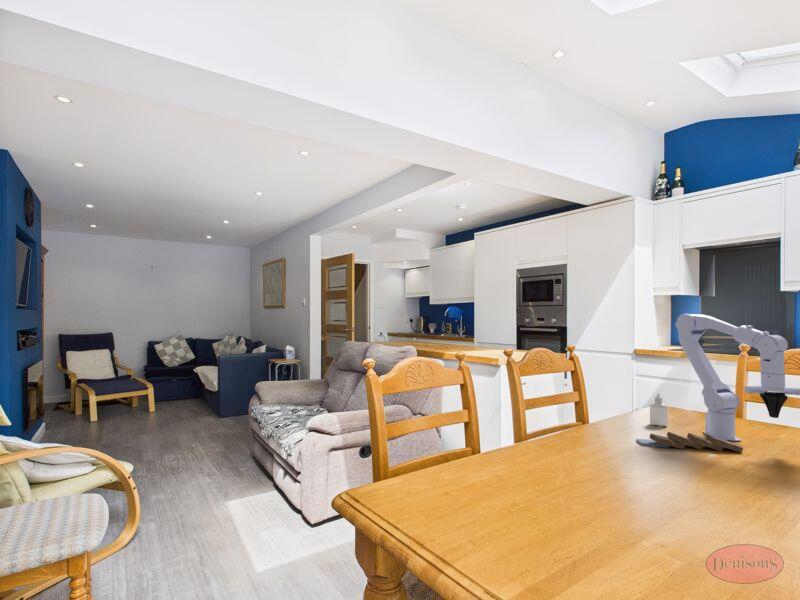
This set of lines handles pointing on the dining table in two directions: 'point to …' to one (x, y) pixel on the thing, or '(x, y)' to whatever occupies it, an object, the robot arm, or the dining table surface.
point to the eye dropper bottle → (658, 412)
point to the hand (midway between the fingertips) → (773, 417)
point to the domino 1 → (650, 443)
